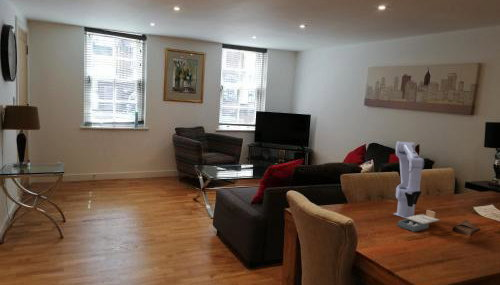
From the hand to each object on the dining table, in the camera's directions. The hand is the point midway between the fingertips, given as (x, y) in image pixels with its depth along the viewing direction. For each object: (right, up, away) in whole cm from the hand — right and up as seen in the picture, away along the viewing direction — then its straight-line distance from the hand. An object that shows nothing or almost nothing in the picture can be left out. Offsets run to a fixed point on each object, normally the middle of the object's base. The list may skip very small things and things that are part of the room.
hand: (411, 205), depth 193 cm
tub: (-2, -11, -5) cm, 12 cm away
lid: (+5, -9, -1) cm, 10 cm away
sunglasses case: (+26, -13, -5) cm, 30 cm away
